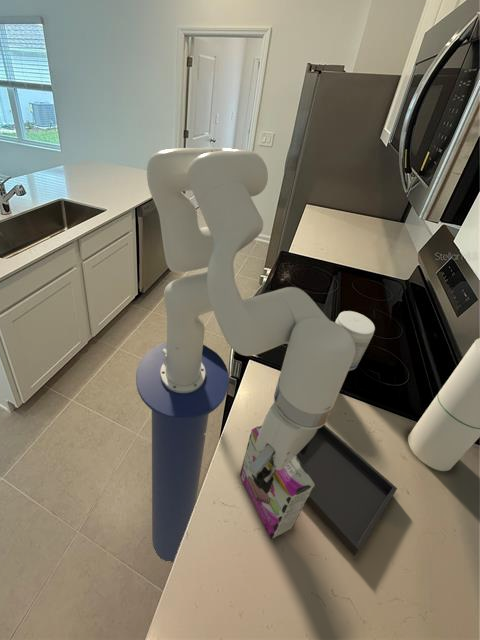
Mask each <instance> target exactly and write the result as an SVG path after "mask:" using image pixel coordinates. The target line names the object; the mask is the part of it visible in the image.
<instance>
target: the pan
mask: <svg viewBox="0 0 480 640" xmlns="http://www.w3.org/2000/svg"><path fill="white" fill-rule="evenodd" d="M296 456H297V458H298V459H299V461H300V462H301V464H302V465H303V467H304V469H305V470H306V472H307V473H308V475H309V476H310V478H311V479H312V481H313V482H314V484H315V486H314V488H313V489H312V492H311V493H310V495H309V497H308V499H307V501H306V502H305V504H307V506H309V508H310V509H311V510H312V511H313V513H315V515H316V516H318V518H319V519H320V520H321V521H322V522H323V523H324V524H325V526H326V527H327V528H328V529H329V530H330V531H331V532H332V534H333V535H334V536H335V537H336V538H337V539H338V540H339V541H340V542H341V543H342V545H344V547H345V548H346V549H347V550H348V552H350V553H351V554H352V556H353V557H356V556H357V555H358V554H359V552H360V551H361V549H362V547H363V546H364V544H365V543H366V540H367V539H368V537H369V536H370V534H371V533H372V531H373V529H374V528H375V526H376V524H377V522H378V521H379V520H380V518H381V516H382V514H383V513H384V512H385V509H386V508H387V506H388V504H389V503H390V502H391V500H392V498H393V497H394V494H395V493H396V491H397V490H398V487H396V486H395V485H394V484H393V483H392V482H391V481H389V480H388V479H387V477H385V476H384V475H383V474H381V472H379V470H377V468H375V467H374V466H373V465H371V464H370V463H369V462H368V461H367V460H366V459H365V458H363V457H362V456H361V455H360V454H359V453H358V452H357V451H355V450H354V449H353V448H352V447H351V446H349V445H348V443H347V442H345V441H344V440H342V438H341V437H339V436H338V435H337V434H336V433H335V432H334V431H332V429H330V428H329V427H328V426H327V425H326V424H324V425H323V426H322V427H321V428H318V430H317V432H316V433H315V435H314V436H313V438H312V439H311V442H310V444H309V446H308V449H307V451H306V453H305V454H304V455H303V454H301V453H300V452H299V453H298V454H297V455H296Z"/></svg>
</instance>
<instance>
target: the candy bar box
mask: <svg viewBox="0 0 480 640" xmlns="http://www.w3.org/2000/svg"><path fill="white" fill-rule="evenodd" d="M261 427H262V425H260V426H256V427H254V428H252V429H251V431H250V435H249V438H248V442H247V446H246V450H245V453H244V458H243V462H242V466H241V469H240V473H239V477H240V479H241V481H242V483H243V485H244V487H245V490H246V491H247V494H248V495H249V497H250V499H251V502H252V504H253V506H254V508H255V510H256V512H257V513H258V516H259V519H260V520H261V522H262V524H263V526H264V528H265V530H266V532H267V535H268V536H269V539H270V540H273V539H275V538H276V537H277V538H278V536H280V535H282V534H284V533H286V532H287V531H288V532H289V531H290V530H292V529H293V528H294V525H295V524H296V522H297V520H298V517H299V515H300V514H301V511H302V510H303V508H304V506H305V504H306V501H307V499H308V497H309V495H310V493H311V492H312V489H313V488H314V486H315V484H314V482H313V481H312V479H311V478H310V476H309V475H308V473H307V472H306V470H305V469H304V467H303V465H302V464H301V462H300V461H299V459H298V458H297V456H295V457H294V458H293V459H292V460H291V461H290V462H289V463H288V464H287V465H286V466H285V467H284V468H283V469H282V470H276V472H275V473H274V475H273V479H274V480H273V482H272V485H271V488H270V491H269V492H268V493H267V494H266V493H265V492H264V491H263V489H262V488H261V489H260V488H258V486H257V485H256V484H255V482H254V479H253V477H252V473H251V472H250V471H249V470H248V469H249V467H250V465H251V464H252V463H253V462H254V461H255V459H256V458H257V457H258V456H259V455H260V453H261V452H262V451H261V452H259V451H258V450H257V449H256V441H257V438H258V435H259V432H260V429H261ZM274 455H275V454H274ZM273 457H274V456H273ZM272 466H273V465H272V464H271V463H270V462H268V463H267V464H266V465H265V467H266V468H267V469H268V470H270V469H271V467H272Z"/></svg>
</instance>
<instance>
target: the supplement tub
mask: <svg viewBox="0 0 480 640" xmlns="http://www.w3.org/2000/svg"><path fill="white" fill-rule="evenodd" d="M334 322H335V323H337V324H338V325H340V326H341V327H343V328H344V329H345V330H346V331H347V332H348V333H349V334H350V335H351V337H352V338H353V341H354V343H355V349H356V350H355V356H354V359H353V361H352V364H351V366H350V368H349V371H353V370H355V369H357V368H358V366H359V363H360V362H361V360H362V358H363V356H364V354H365V353H366V350H367V348H368V347H369V344H370V342H371V340H372V339H373V336H374V334H375V331H376V327H375V324H374V322H373V321H372V320H371V319H370V318H368V317H367V316H366V315H364V314H361V313H359V312H356V311H352V310H347V311H346V310H343V311H341V312H340V313H339V314H338V316H337V318H336V319H335V321H334ZM349 371H348V372H349Z"/></svg>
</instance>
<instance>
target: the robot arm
mask: <svg viewBox="0 0 480 640" xmlns="http://www.w3.org/2000/svg"><path fill="white" fill-rule="evenodd" d="M268 172H269V171H268V168H267V164H266V162H265V161H264V160H263V158H262V157H261V156H260V155H259V154H258V153H257V152H256V151H253V150H250V149H238V148H229V147H218V146H217V147H178V148H177V147H176V148H169V149H168V148H167V149H162V150H159V151H157V152H155V153H154V154H152V156H150V158H149V159H148V161H147V166H146V180H147V186H148V190H149V193H150V195H151V199H152V200H153V202H154V205H155V207H156V210H157V213H158V217H159V223H160V230H161V238H162V239H161V240H162V246H163V253H164V258H165V263H166V266H167V268H168V269H169V270H170V272H173V273H179V274H180V273H188V272H192V271H193V272H194V271H197V270H202V269H206V268H207V271H205V272H201V273H195V274H191V275H186V276H183V277H179V278H177V279H174V280H172V281H170V282H169V283H168V284H167V285H166V286H165V288H164V290H163V301H164V306H165V311H166V342H167V344H166V347H167V350H166V349H163V350H162V353H163V354H164V355H165V362H164V363H163V364H162V366H161V370H160V376H161V380H162V382H163V384H164V385H165V386H166V387H167V388H168V389H170V390H172V391H174V392H177V393H190V392H193V391H195V390H197V389H198V388H199V387H201V385H202V384H203V382H204V380H205V375H206V371H205V367H204V365H203V364H202V362H201V360H202V351H203V345H204V342H205V341H204V340H205V328H206V326H205V324H204V323H205V322H204V321H203V319H202V317H201V316H202V315H204V314H208V313H211V312H213V314H214V317H215V319H216V321H217V324H218V327H219V329H220V331H221V333H222V335H223V337H224V339H225V341H226V343H227V344H228V345H229V347H230V348H231V349H232V351H234V352H236V353H237V354H239V355H241V356H245V357H253V356H257V355H261V354H262V353H265V352H268V351H270V350H272V349H275V348H277V347H279V346H282V345H287V347H286V352H285V354H284V359H283V362H282V366H281V369H280V373H279V376H278V380H277V383H276V387H275V390H274V394H273V404H272V405H271V406H270V408H269V410H268V411H267V414H266V415H265V417H264V420H263V421H262V424H261V426H262V427H261V429H260V432H259V435H258V438H257V441H256V449H257V450H258V451H259V452H261V451H262V452H261V453H260V455H259V456H258V457H257V458H256V459H255V461H254V462H253V463H252V464H251V465H250V467H249V469H248V470H249V471H250V472H251V473H252V477H253V479H254V482H255V484H256V485H257V486H258V488H260V489H261V488H262V489H263V491H264V492H265V493H266V494H267V493H268V492H269V491H270V488H271V485H272V482H273V480H274V479H273V475H274V473H275V472H276V470H282V469H283V468H284V467H285V466H286V465H287V464H288V463H289V462H290V461H291V460H292V459H293V458H294V457H295V456H296V455H297V454H298V453H299V452H300V453H301V454H303V455H304V454H305V453H306V451H307V449H308V446H309V444H310V442H311V439H312V438H313V436H314V435H315V433H316V432H317V430H318V428H321V427H322V426H323V425H326V423H327V421H328V419H329V417H330V415H331V412H332V411H333V408H334V406H335V403H336V401H337V399H338V396H339V394H340V391H341V390H342V387H343V385H344V382H345V380H346V378H347V375H348V373H349V368H350V366H351V364H352V361H353V359H354V356H355V350H356V349H355V343H354V341H353V338H352V337H351V335H350V334H349V333H348V332H347V331H346V330H345V329H344V328H343V327H341V326H340V325H338V324H337V323H335V321H332V320H331V319H329V317H327V315H326V314H325V313H324V312H323V311H322V310H321V308H320V307H319V306H318V304H316V302H315V301H314V300H313V298H311V296H309V294H308V293H307V292H305V291H304V290H303V289H301V288H299V287H295V286H286V287H282V288H278V289H276V290H273V291H269V292H265V293H260V294H258V295H255V296H251V297H248V298H244V299H243V298H242V296H241V293H240V291H239V289H238V286H237V283H236V278H235V268H234V261H235V258H236V256H237V254H238V252H240V251H241V250H243V249H244V248H246V247H247V246H249V245H250V244H251V243H252V242H253V241H254V240H255V239H257V238H258V237H259V235H260V234H261V233H262V232H263V229H264V220H263V218H262V216H261V214H260V212H259V210H258V208H257V207H256V204H255V203H254V200H253V199H252V197H256V196H258V195H260V194H261V193H262V192H264V190H265V189H266V187H267V185H268V180H269V173H268ZM189 191H192V194H193V196H194V198H195V201H196V203H197V206H198V208H199V209H200V212H201V215H202V217H203V219H204V221H205V224H206V226H204V227H200V226H199V221H198V220H199V219H198V211H197V209H196V206H195V205H194V203H193V202H192V200H191V199H190V198H189V197H188V196H187V195H186V193H184V192H189ZM274 454H275V455H274ZM273 456H274V457H273ZM268 462H270V463H271V464H272V465H273V466H272V467H271V469H270V470H268V469H267V468H266V467H265V465H266V464H267V463H268Z"/></svg>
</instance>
